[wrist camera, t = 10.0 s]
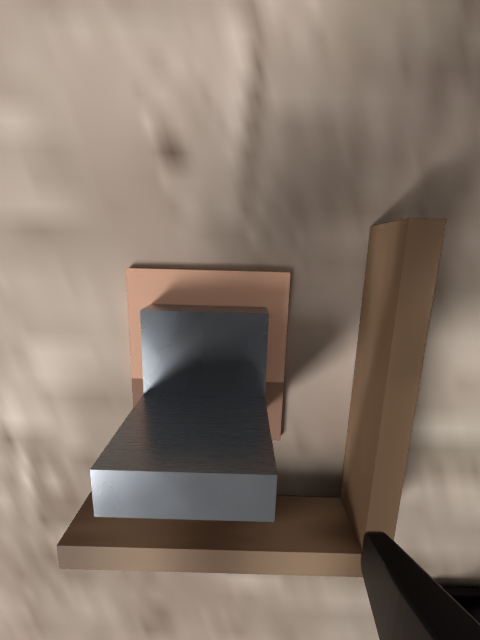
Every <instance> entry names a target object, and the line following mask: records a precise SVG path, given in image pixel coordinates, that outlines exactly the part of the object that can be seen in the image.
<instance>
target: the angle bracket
mask: <svg viewBox="0 0 480 640" xmlns="http://www.w3.org/2000/svg"><path fill="white" fill-rule="evenodd" d="M140 322H141V345H142V368H143V391H144V394H143V395H142V397H141V398H140V399H139V401H138V402H137V404H136V405H135V407H134V408H133V409H132V411H131V412H130V414H129V415H128V417H127V418H126V419H125V421H124V422H123V424H122V425H121V426H120V428H119V429H118V431H117V432H116V434H115V435H114V436H113V438H112V439H111V441H110V442H109V443H108V445H107V446H106V448H105V449H104V451H103V452H102V453H101V455H100V456H99V458H98V459H97V460H96V462H95V463H94V465H93V466H92V468H91V469H90V475H91V486H92V498H93V509H94V517H117V518H152V519H187V520H221V521H256V522H274V521H275V505H276V489H277V470H276V463H275V457H274V451H273V445H272V438H271V432H270V426H269V419H268V413H267V407H266V401H265V385H266V365H267V345H268V324H269V313H268V310H267V308H266V307H245V306H210V305H175V304H150V305H148V306H146V307H145V308H143V309H141V310H140Z"/></svg>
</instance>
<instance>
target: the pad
mask: <svg viewBox="0 0 480 640" xmlns="http://www.w3.org/2000/svg"><path fill="white" fill-rule="evenodd" d="M126 281H127V299H128V318H129V336H130V355H131V374H132V392H133V408H134V407H135V405H136V404H137V402H138V401H139V399H140V398H141V397H142V395H143V394H144V391H143V368H142V345H141V322H140V310H141V309H143V308H145V307H146V306H148V305H150V304H175V305H210V306H245V307H266V308H267V310H268V313H269V324H268V345H267V365H266V385H265V401H266V407H267V413H268V419H269V426H270V432H271V438H272V440H280V436H281V419H282V403H283V386H284V370H285V354H286V337H287V321H288V304H289V288H290V272H261V271H224V270H186V269H149V268H126Z"/></svg>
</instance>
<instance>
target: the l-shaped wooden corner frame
mask: <svg viewBox="0 0 480 640" xmlns="http://www.w3.org/2000/svg"><path fill="white" fill-rule="evenodd" d="M445 224H446V219H427V218H407V219H402V220H398V221H393V222H388V223H384V224H379V225H374V226H371V228H370V237H369V246H368V255H367V264H366V272H365V281H364V290H363V299H362V308H361V317H360V325H359V334H358V343H357V352H356V361H355V369H354V378H353V387H352V396H351V405H350V414H349V422H348V431H347V440H346V449H345V458H344V466H343V475H342V484H341V493H340V498H335V497H299V496H276V505H275V521H274V522H256V521H221V520H187V519H152V518H117V517H94V509H93V498H92V491H91V493H90V494H89V496H88V497H87V499H86V500H85V502H84V504H83V505H82V507H81V508H80V510H79V511H78V513H77V515H76V516H75V518H74V519H73V521H72V522H71V524H70V526H69V527H68V529H67V530H66V532H65V533H64V535H63V537H62V538H61V540H60V541H59V543H58V544H57V551H58V559H59V567H60V569H92V570H128V571H165V572H201V573H237V574H273V575H309V576H345V577H363V575H362V570H361V553H362V545H363V538H364V534H365V532H366V531H382V532H384V533H386V534H387V535H388V536H389V537H390V538H391V539H392V540H393V541H394V536H395V529H396V523H397V517H398V511H399V505H400V499H401V493H402V487H403V481H404V474H405V468H406V462H407V456H408V450H409V444H410V438H411V432H412V426H413V420H414V413H415V407H416V401H417V395H418V389H419V383H420V377H421V371H422V365H423V358H424V352H425V346H426V340H427V334H428V328H429V322H430V316H431V310H432V304H433V297H434V291H435V285H436V279H437V273H438V267H439V261H440V255H441V249H442V242H443V236H444V230H445Z"/></svg>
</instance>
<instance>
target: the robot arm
mask: <svg viewBox="0 0 480 640" xmlns="http://www.w3.org/2000/svg"><path fill="white" fill-rule="evenodd" d="M361 570H362V575H363V578H364V582H365V586H366V590H367V594H368V597H369V601H370V605H371V609H372V612H373V616H374V620H375V624H376V628H377V631H378V635H379V639H380V640H480V588H462V587H441V586H440V585H439V584H438V583H437V582H436V581H435V580H434V579H433V578H432V577H431V576H430V575H429V574H428V573H427V572H426V571H424V570H423V569H422V568H421V567H420V566H419V565H418V564H417V563H416V562H415V561H414V560H413V559H412V558H411V557H410V556H409V555H408V554H407V553H406V552H405V551H404V550H403V549H402V548H401V547H400V546H399V545H398V544H396V543H395V542H394V541H393V540H392V539H391V538H390V537H389V536H388V535H387V534H386V533H384V532H382V531H366V532H365V534H364V538H363V545H362V553H361Z"/></svg>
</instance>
